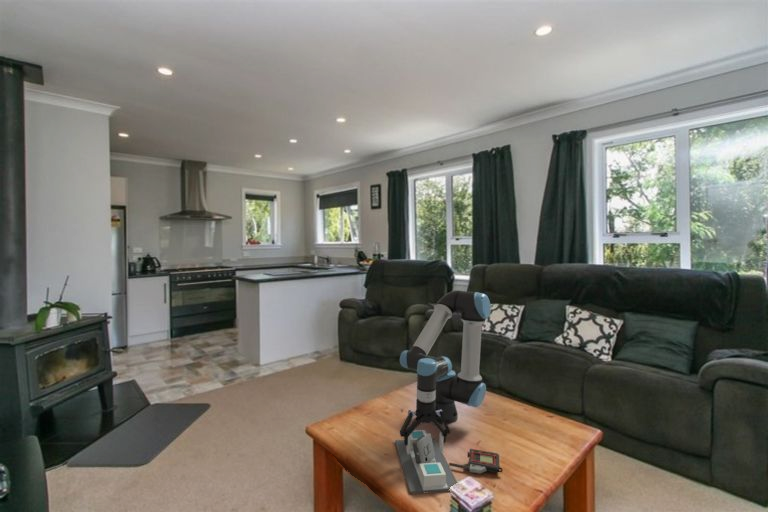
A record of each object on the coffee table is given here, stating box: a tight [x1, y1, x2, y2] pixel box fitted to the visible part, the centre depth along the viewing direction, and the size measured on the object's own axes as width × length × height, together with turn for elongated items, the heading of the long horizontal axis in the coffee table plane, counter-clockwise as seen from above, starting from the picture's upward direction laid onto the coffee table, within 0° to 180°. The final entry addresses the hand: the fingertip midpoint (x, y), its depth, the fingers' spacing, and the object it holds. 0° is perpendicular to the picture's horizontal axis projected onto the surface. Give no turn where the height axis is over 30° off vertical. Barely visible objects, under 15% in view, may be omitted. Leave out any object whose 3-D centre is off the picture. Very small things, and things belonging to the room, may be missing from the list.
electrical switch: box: [412, 432, 435, 464], centre depth 140 cm, size 9×5×9 cm, turn 142°
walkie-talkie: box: [448, 448, 503, 475], centre depth 139 cm, size 9×4×20 cm
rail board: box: [394, 429, 458, 494], centre depth 140 cm, size 18×32×6 cm, turn 8°
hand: (424, 451), depth 140 cm, fingers open, 13 cm apart
